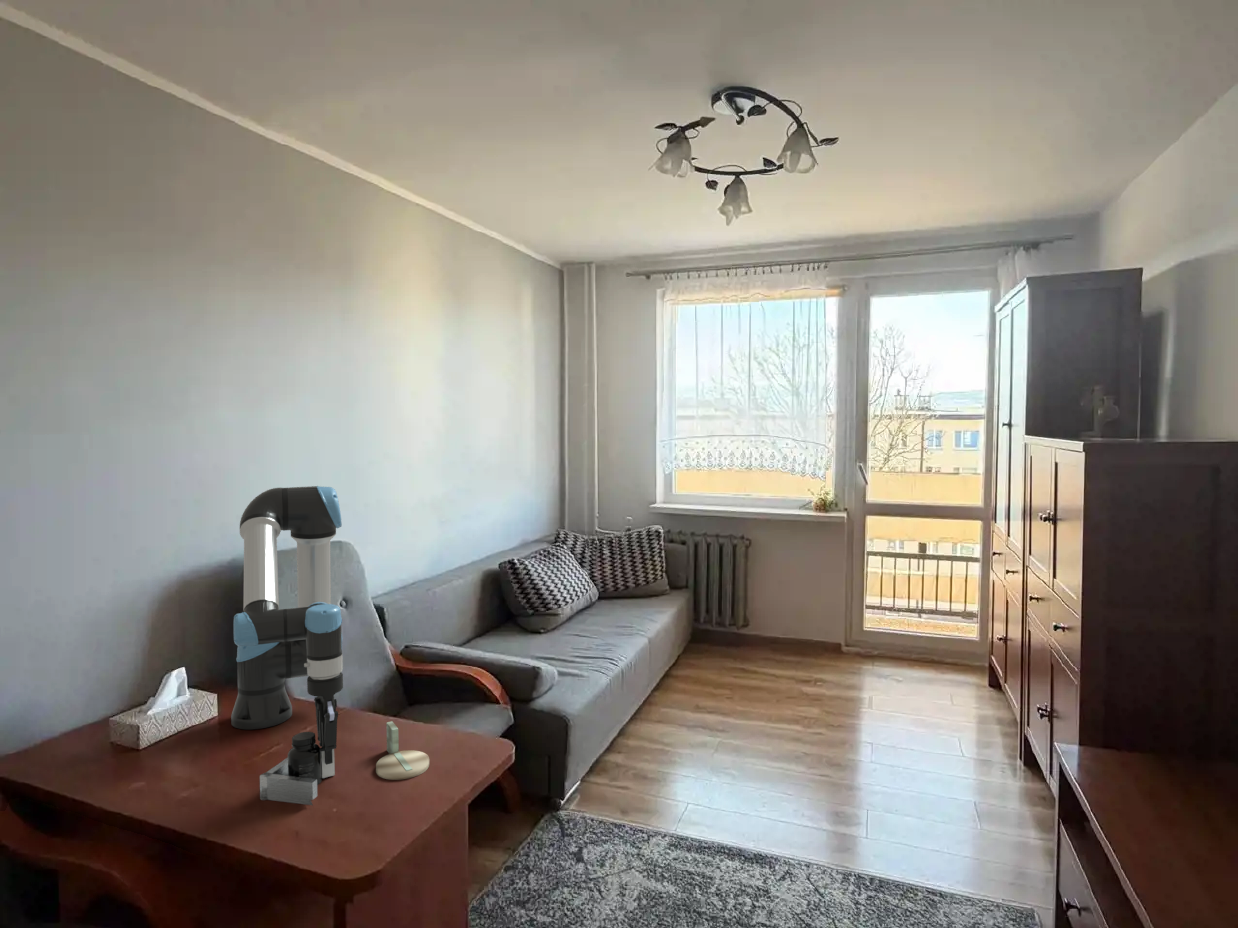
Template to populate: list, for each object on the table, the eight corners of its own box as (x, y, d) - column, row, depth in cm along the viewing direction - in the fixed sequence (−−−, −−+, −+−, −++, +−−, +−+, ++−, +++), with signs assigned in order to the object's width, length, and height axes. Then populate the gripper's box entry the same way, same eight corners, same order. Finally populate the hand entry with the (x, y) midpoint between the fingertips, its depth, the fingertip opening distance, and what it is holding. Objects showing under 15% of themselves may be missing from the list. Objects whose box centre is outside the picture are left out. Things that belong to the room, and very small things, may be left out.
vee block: (254, 781, 165) (254, 760, 165) (303, 769, 170) (302, 749, 170) (266, 817, 150) (265, 794, 149) (318, 803, 155) (318, 781, 155)
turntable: (364, 755, 175) (364, 727, 175) (413, 743, 182) (413, 716, 181) (384, 784, 161) (383, 754, 161) (436, 770, 168) (436, 741, 167)
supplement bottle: (327, 780, 165) (325, 729, 165) (312, 796, 159) (311, 742, 158) (297, 779, 166) (296, 728, 165) (282, 795, 159) (281, 742, 158)
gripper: (301, 669, 167) (304, 768, 168) (313, 686, 156) (316, 792, 157) (335, 663, 171) (338, 760, 172) (349, 679, 160) (351, 782, 162)
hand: (327, 775), depth 165 cm, fingers closed
